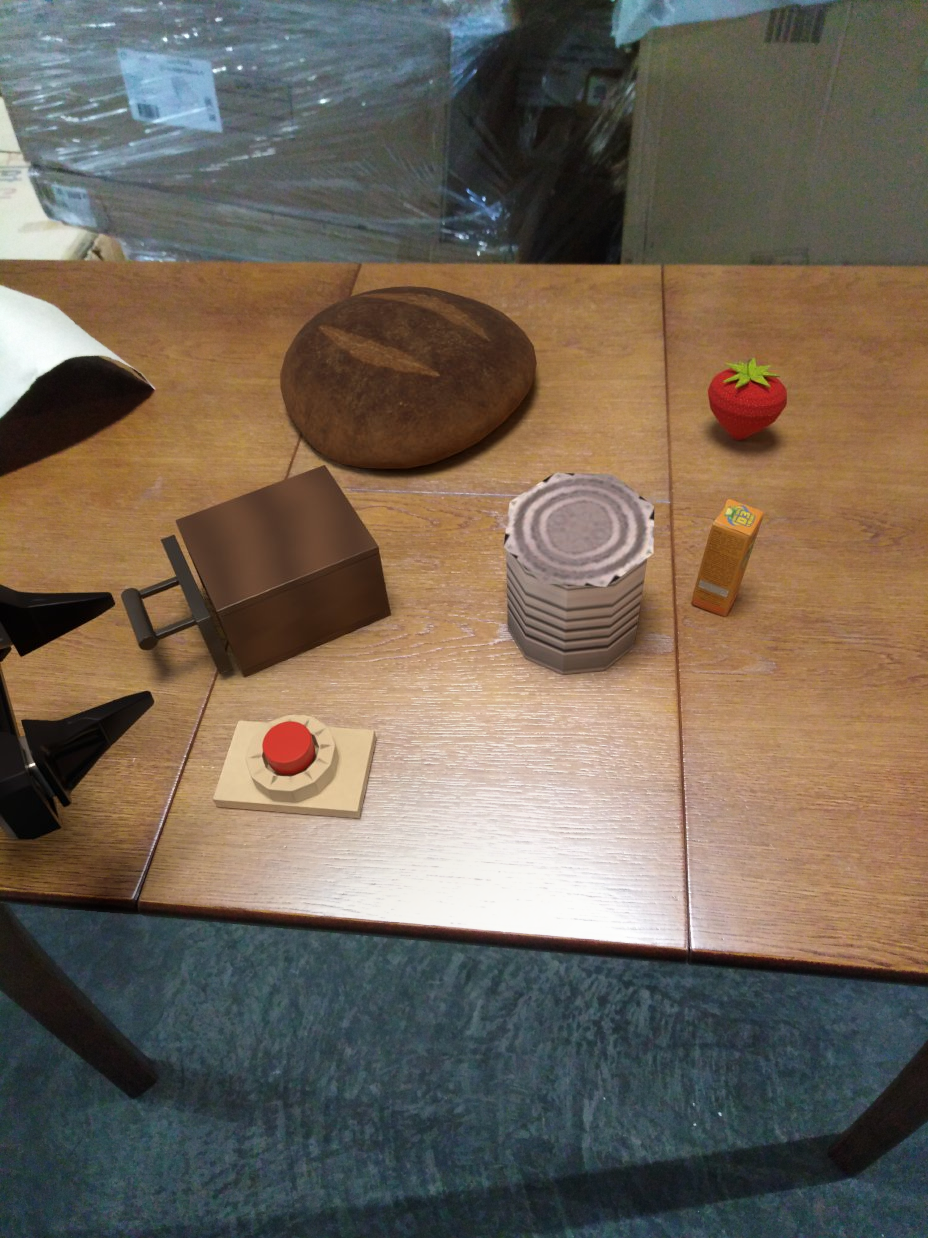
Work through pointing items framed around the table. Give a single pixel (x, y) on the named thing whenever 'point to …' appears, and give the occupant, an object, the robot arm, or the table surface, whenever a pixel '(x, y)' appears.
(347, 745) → the control block
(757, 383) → the strawberry
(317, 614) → the brown wooden drawer box
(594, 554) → the can
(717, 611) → the supplement box
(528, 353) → the bread
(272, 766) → the button
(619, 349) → the table surface
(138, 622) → the brown drawer
